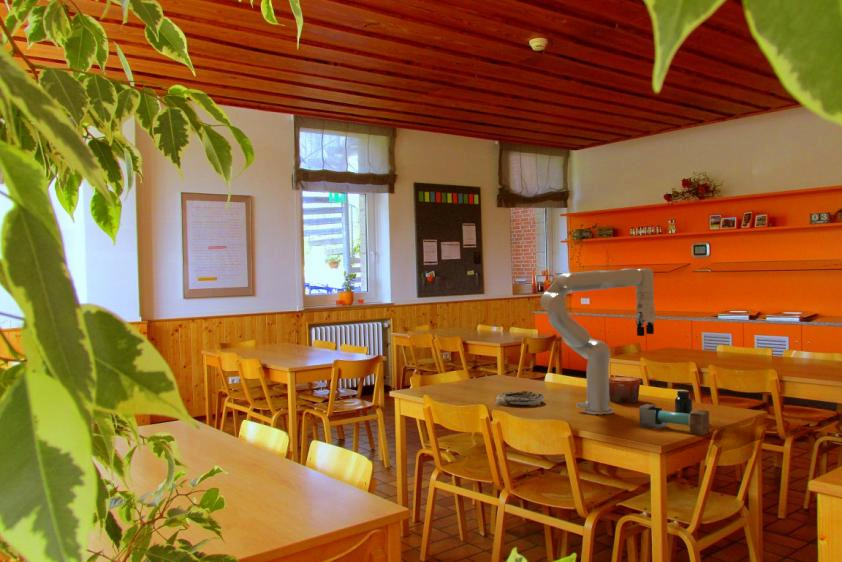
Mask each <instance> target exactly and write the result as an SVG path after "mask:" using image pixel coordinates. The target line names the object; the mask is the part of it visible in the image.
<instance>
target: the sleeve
mask: <svg viewBox="0 0 842 562" xmlns="http://www.w3.org/2000/svg"><path fill="white" fill-rule="evenodd" d="M655 405H656V404H648V403H645V404H643V405H640V406H639V408H638V410H639V411H638V412H639V413H638V414H639V415H638V416H639V419H638V420H639V428H645V427H646V428H647V429H652V428H654V429H653V430H659V429H660V430H662V429H665V428H667V427H668V423H665V422H659V421H658V413H659V411H663V407H661V406H660V407H659V406H658V407H657V406H655ZM666 426H667V427H666ZM664 427H665V428H664Z"/></svg>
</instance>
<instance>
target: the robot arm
mask: <svg viewBox="0 0 842 562" xmlns="http://www.w3.org/2000/svg"><path fill="white" fill-rule="evenodd" d="M626 287H635V300H636V308H635V310H636V312H635V314H636V315H635V323H636V335H637V337H645V332H646V334H647V335H654V333H655V332H654V331H655V327H654V326H655V321H656V311H655V310H656V308H655V302H654V301H655V300H654V298H655V297H654V295H655V294H654V270H653V269H652V268H638V269H637V268H622V269H618V270H603V269H602V270H600V269H599V270H589V271H588V270H587V271H580V272H579V271H578V272H563V273H561V274H560V275H559V276H558V277H557V278H556V279H555V280H554V281H553V282H552V283H551V285H550V286H548V288H547V289H546V290H545V291H544V292H543V294H542V295H541V297H540V306H541V307H542V309H544V310H545V311H547V317H548V321H549V324H550V325H551V327H552V328H553V329H554V330H555V331H556V332H557V333H558V334H560V335H561V339H562V341H563V342H564V344H565V345H567V346H568V347H569V348H571V350H573V351H574V352H575V353H577V354H578V355H580V356H581V357H582V358H584V359H586V360H587V363H586V372H585V373H586V400H585V401H584V402H576V404H575V405H576V406H575V407H576V408H581V409H583V413H585V414H590V415H596V414H598V415H602V416H603V414H605V415H610V414H613V413H614V409H613V408H611V407H610V398H609V378H610V377H609V375H610V360H611V359H610V358H611V350H610V348H609V346H608V344H607V343H605V342H604V341H602V340H599V339H594V338H592V337H591V336H590V333H589V331H588V330H587V329H586V328H585V327H584V326H583V325H581V324H580V323H578V322H577V321H575V319H573V318H572V316H570V315H569V314H568V312H567V300H566V296H567V295H568V294H569V293H578V292H579V293H580V292H589V291H599V290H607V289H614V288H615V289H617V288H626ZM645 323H646V325H645ZM644 325H645V326H644ZM645 328H646V329H645ZM645 330H646V331H645Z"/></svg>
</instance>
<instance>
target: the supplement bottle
mask: <svg viewBox="0 0 842 562" xmlns="http://www.w3.org/2000/svg"><path fill="white" fill-rule="evenodd" d="M676 395H677V397H675V398H674V412H677V413H685V414H690V413H691V412H694V409H693V399H692V398H691V397H690V395H691V394H690V391H689V390H677V393H676Z"/></svg>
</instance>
